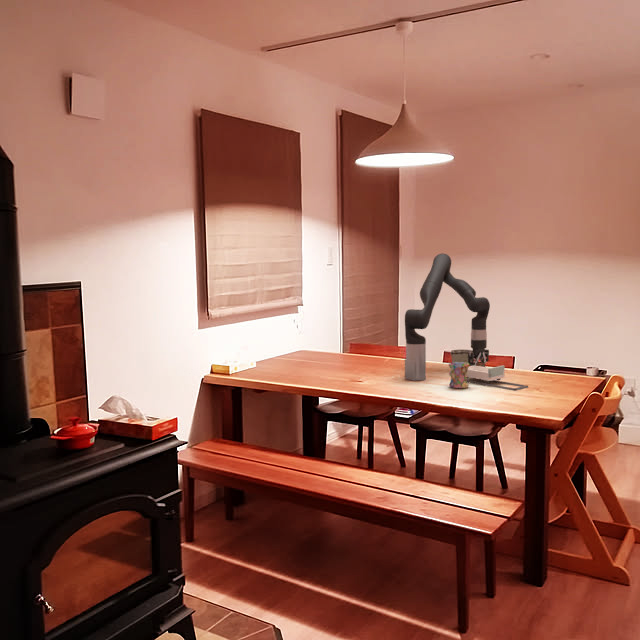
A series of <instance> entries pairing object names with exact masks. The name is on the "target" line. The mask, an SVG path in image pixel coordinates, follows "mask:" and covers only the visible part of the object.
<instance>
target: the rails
mask: <svg viewBox="0 0 640 640" xmlns="http://www.w3.org/2000/svg"><path fill="white" fill-rule="evenodd" d="M468 379H470V378H469V377H467V383H469V382H470V384H475V383H476V385H482V386H486V385H487V386H488V387H493V388H498V389H505V390H509V391H518V390H523V389H526V388H529V385H527V384H521V383H515V382H509V381H502V380H497V379H496V380H492V383H497V382H498V383H497V384H502V385H496V384H491V383H485V382H481V381H476V380H475V381H474V380H468ZM503 384H504V385H510V386H514V387H509V386H504V385H503ZM516 386H517V387H516Z"/></svg>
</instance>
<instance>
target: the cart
mask: <svg viewBox="0 0 640 640" xmlns="http://www.w3.org/2000/svg"><path fill="white" fill-rule="evenodd" d="M505 368H506V367H505V365H503V364H502V365H498V366H494V367H487V366H485V367H481V366H469V367H468V370H467V377H470V378H469V379H473V378H476V379H475V380H479V379H481V381H483V383H487V384H490V382H491V381H492V380H497V381H502V380H501V379H504V378H505V373H506V371H505V370H506V369H505Z"/></svg>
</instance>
